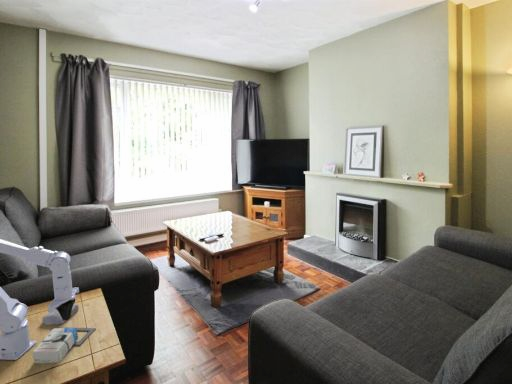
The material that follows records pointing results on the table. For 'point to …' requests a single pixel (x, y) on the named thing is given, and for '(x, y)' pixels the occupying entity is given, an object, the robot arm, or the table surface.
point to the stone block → (57, 316)
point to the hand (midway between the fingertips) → (66, 319)
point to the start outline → (85, 335)
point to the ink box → (55, 345)
